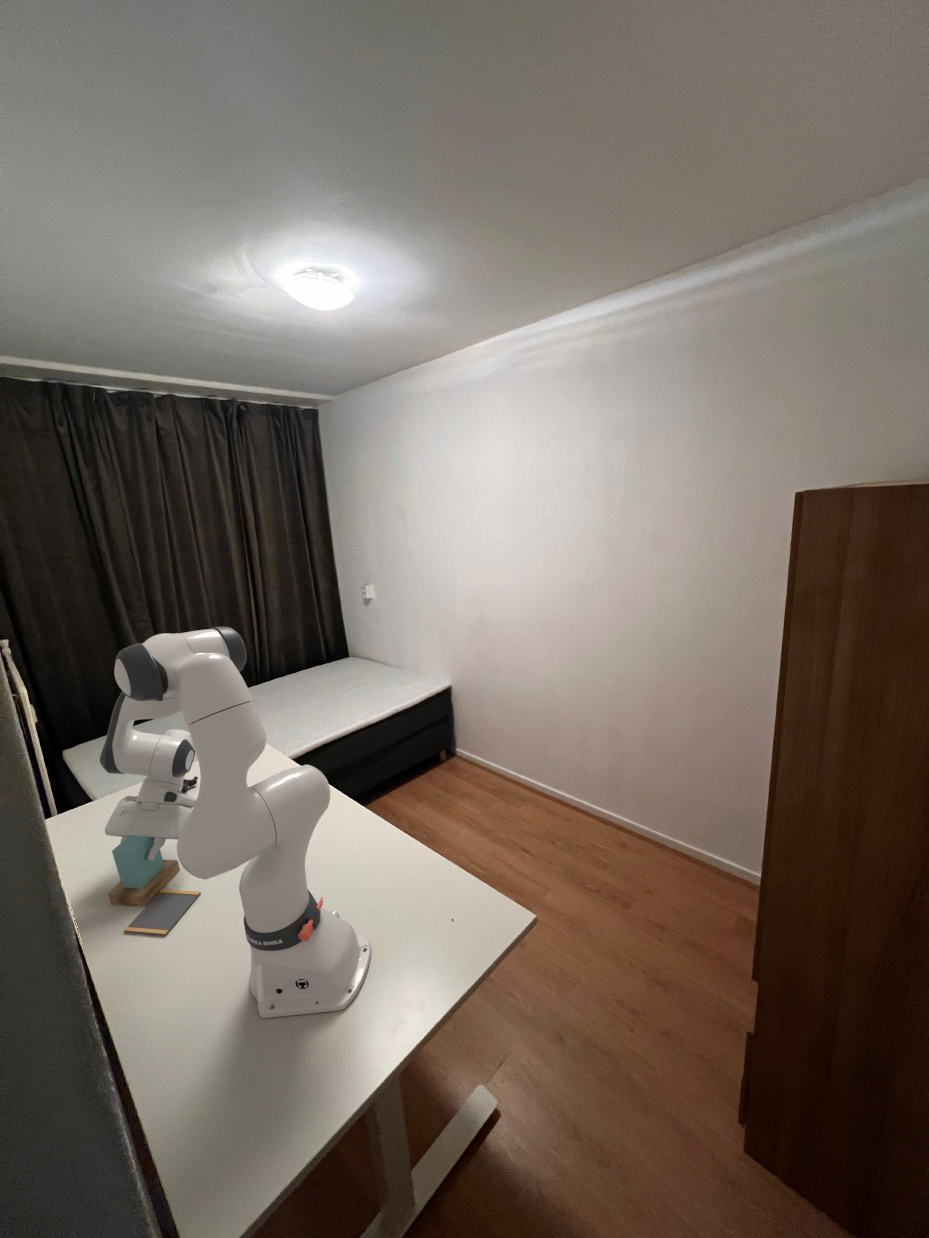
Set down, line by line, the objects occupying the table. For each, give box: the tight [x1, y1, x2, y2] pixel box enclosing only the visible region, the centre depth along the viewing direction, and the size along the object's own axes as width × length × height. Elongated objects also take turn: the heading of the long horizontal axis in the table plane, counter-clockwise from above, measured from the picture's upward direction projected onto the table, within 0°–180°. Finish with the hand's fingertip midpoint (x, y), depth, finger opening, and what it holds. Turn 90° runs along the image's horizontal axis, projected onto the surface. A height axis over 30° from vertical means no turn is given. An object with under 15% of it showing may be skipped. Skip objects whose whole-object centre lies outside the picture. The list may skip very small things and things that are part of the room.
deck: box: [107, 858, 181, 908], centre depth 114 cm, size 9×11×3 cm
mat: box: [122, 888, 202, 937], centre depth 107 cm, size 10×11×1 cm
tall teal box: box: [111, 835, 164, 889], centre depth 113 cm, size 5×7×10 cm
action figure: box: [181, 776, 199, 793], centre depth 150 cm, size 8×6×18 cm
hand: (136, 859), depth 112 cm, fingers closed on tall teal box, 5 cm apart
